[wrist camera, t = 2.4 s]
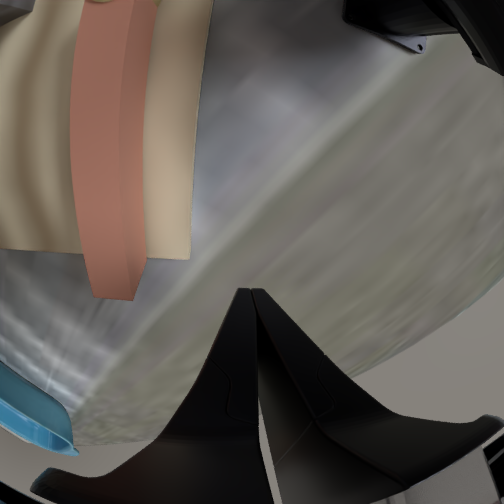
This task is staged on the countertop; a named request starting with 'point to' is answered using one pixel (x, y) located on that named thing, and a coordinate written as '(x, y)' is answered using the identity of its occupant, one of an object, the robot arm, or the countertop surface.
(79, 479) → the robot arm
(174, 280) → the countertop surface
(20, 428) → the casserole dish
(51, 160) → the latch board
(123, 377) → the countertop surface
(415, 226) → the countertop surface
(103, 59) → the latch bar
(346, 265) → the countertop surface
